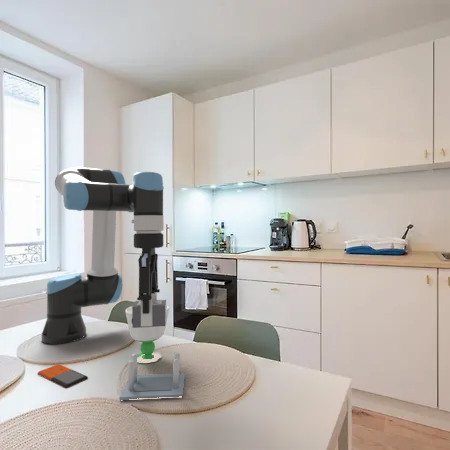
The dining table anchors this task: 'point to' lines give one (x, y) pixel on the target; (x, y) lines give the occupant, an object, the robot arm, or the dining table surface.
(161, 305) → the grey block
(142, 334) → the cup
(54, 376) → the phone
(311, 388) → the dining table surface
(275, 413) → the dining table surface
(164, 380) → the grey fixture stand
